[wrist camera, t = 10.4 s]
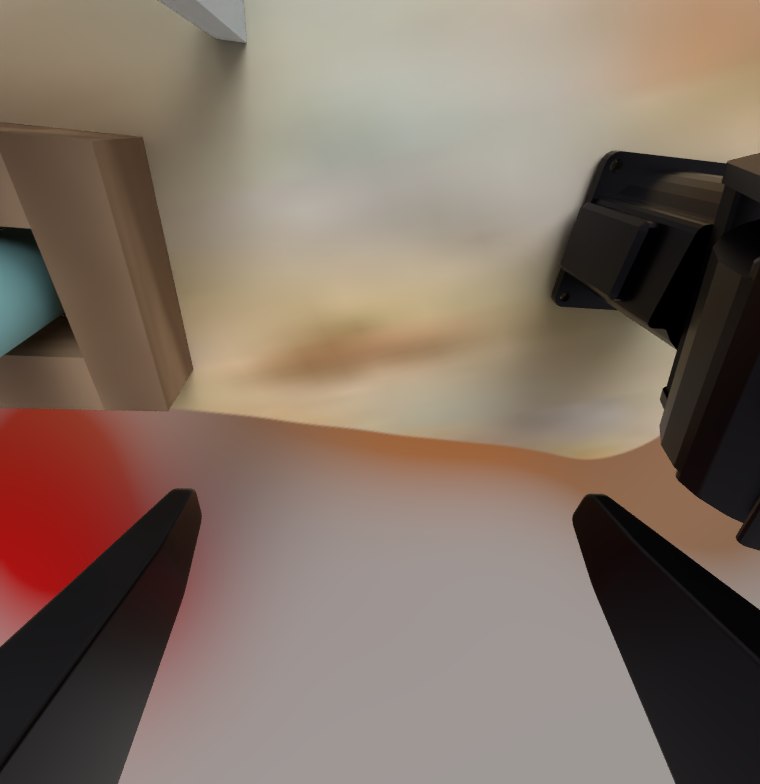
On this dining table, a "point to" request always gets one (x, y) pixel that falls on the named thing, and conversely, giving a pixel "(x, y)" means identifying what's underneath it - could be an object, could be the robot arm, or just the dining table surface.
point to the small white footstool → (213, 16)
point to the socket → (92, 274)
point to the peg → (24, 289)
